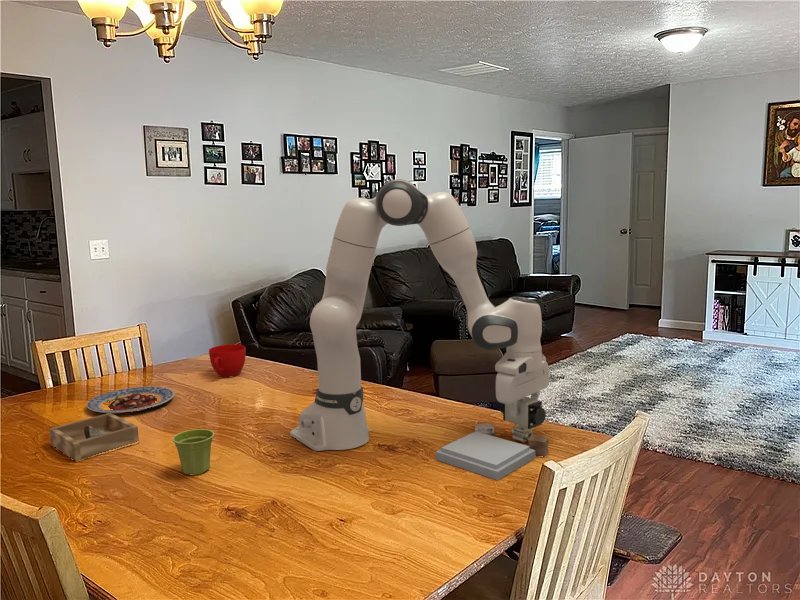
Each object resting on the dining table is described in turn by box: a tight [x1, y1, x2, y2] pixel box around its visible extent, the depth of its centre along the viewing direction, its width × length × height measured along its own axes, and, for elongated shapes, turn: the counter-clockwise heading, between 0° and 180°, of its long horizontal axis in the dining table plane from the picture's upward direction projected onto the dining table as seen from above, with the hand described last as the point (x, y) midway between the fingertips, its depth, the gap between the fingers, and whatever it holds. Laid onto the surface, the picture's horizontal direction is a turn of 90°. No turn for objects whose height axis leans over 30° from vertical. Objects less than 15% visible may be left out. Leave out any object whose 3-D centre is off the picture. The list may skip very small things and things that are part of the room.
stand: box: [435, 430, 536, 481], centre depth 155 cm, size 18×16×3 cm
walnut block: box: [528, 434, 549, 458], centre depth 158 cm, size 4×4×4 cm
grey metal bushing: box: [474, 423, 495, 437], centre depth 170 cm, size 5×5×2 cm
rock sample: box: [84, 424, 110, 439], centre depth 170 cm, size 10×8×9 cm
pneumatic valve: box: [499, 396, 547, 444], centre depth 166 cm, size 6×12×12 cm, turn 39°
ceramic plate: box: [86, 386, 175, 414], centre depth 204 cm, size 26×26×3 cm
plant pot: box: [172, 428, 215, 475], centre depth 152 cm, size 9×9×9 cm
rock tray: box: [48, 413, 140, 462], centre depth 170 cm, size 17×16×5 cm
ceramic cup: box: [208, 343, 247, 378], centre depth 233 cm, size 13×17×10 cm
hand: (523, 411), depth 166 cm, fingers open, 7 cm apart
